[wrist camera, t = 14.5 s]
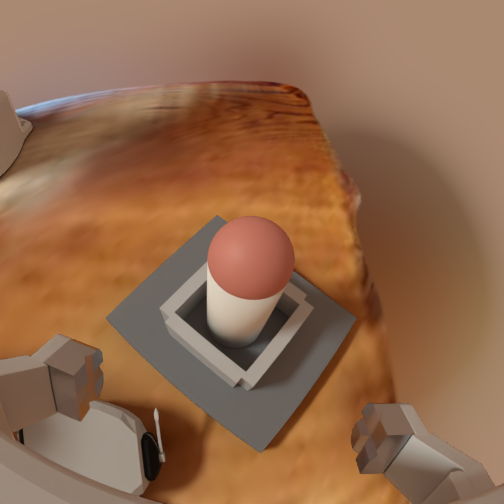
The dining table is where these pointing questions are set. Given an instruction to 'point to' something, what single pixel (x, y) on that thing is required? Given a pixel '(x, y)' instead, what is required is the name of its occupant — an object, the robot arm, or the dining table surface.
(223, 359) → the jig
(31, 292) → the dining table surface
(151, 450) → the robot toy
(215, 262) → the pink-topped post
